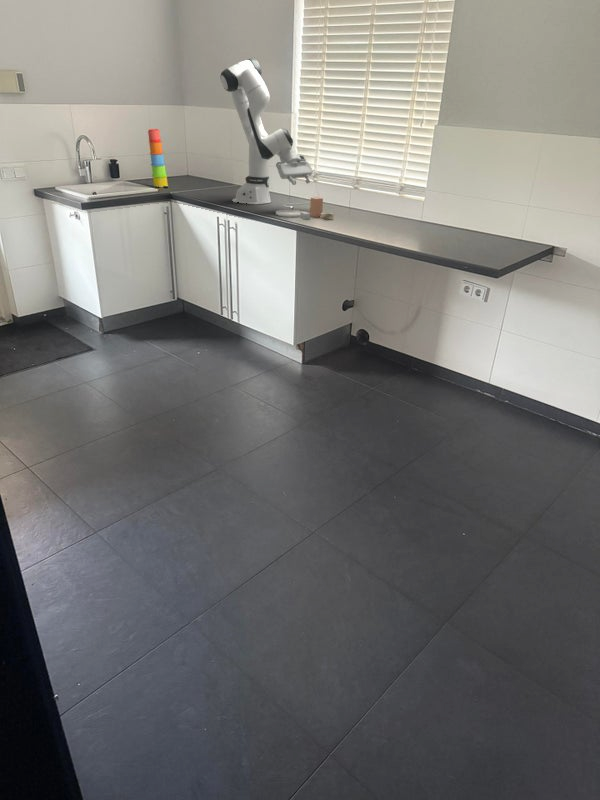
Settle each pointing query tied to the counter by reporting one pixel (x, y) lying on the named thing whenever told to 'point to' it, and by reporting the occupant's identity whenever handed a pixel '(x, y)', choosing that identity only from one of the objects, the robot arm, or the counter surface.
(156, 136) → the stacking cups
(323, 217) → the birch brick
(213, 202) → the counter surface
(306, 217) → the grey brick
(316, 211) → the orange cylinder
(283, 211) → the cream plate
